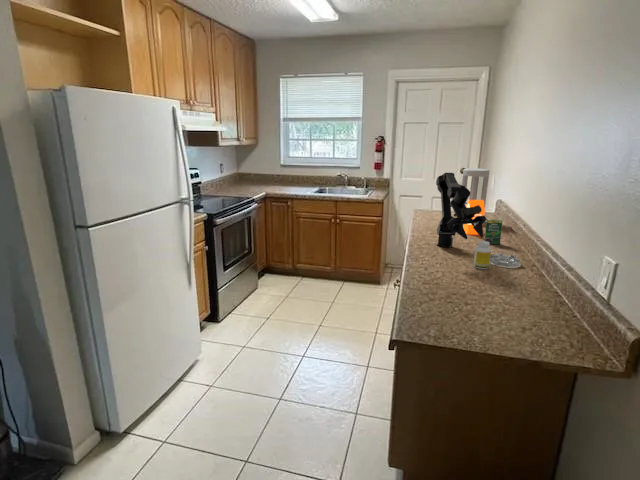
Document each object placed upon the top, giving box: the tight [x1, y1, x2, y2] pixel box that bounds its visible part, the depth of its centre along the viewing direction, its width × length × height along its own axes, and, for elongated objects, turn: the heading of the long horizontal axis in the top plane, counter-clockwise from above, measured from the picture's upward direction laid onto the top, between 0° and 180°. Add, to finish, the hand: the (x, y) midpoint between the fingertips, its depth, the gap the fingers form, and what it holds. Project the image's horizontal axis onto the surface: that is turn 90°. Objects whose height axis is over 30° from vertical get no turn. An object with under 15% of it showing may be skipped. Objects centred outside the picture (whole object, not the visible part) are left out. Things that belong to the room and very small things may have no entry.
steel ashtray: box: [489, 252, 522, 269], centre depth 179 cm, size 14×14×3 cm
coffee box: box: [483, 218, 503, 245], centre depth 210 cm, size 8×3×13 cm, turn 66°
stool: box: [461, 167, 490, 209], centre depth 259 cm, size 16×16×35 cm
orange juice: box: [463, 199, 486, 236], centre depth 231 cm, size 8×9×20 cm
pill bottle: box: [472, 240, 492, 270], centre depth 172 cm, size 6×6×12 cm
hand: (474, 237), depth 175 cm, fingers open, 9 cm apart
